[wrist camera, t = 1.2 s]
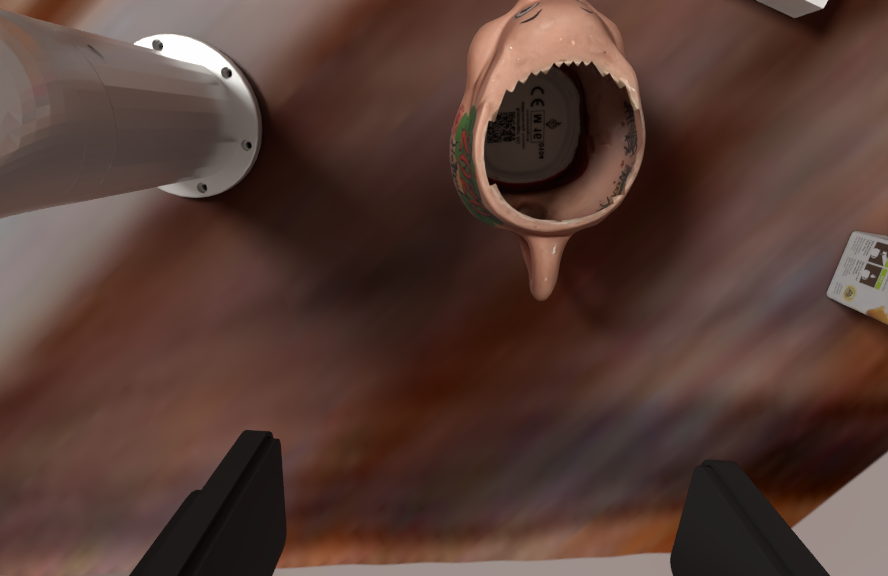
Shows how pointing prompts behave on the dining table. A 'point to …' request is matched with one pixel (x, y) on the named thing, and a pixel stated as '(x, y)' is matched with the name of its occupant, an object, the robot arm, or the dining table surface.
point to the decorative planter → (547, 128)
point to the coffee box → (863, 276)
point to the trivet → (795, 6)
